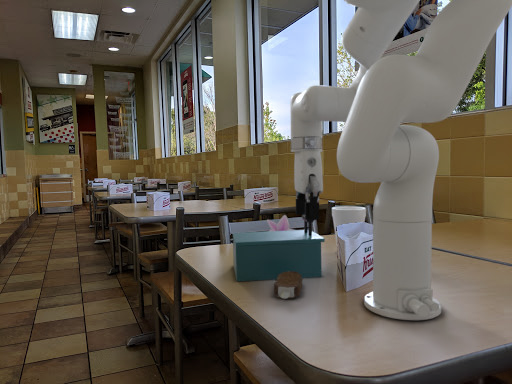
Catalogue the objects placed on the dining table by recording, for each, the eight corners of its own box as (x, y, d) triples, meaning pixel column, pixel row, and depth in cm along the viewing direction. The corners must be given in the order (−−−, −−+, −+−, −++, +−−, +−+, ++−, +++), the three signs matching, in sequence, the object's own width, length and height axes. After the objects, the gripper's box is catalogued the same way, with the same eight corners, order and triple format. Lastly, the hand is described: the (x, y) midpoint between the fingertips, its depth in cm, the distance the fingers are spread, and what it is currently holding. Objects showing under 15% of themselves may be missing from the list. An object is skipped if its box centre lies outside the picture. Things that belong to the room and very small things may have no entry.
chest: (307, 262, 98) (307, 232, 98) (321, 276, 86) (321, 242, 85) (233, 266, 96) (232, 236, 96) (236, 281, 84) (235, 246, 83)
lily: (256, 255, 112) (266, 229, 108) (257, 234, 123) (266, 209, 118) (294, 266, 113) (306, 241, 109) (292, 244, 124) (302, 220, 120)
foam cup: (326, 251, 112) (326, 207, 111) (353, 248, 114) (353, 205, 114) (343, 258, 103) (343, 210, 102) (372, 255, 105) (372, 208, 105)
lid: (310, 232, 98) (309, 211, 98) (324, 242, 85) (324, 217, 85) (232, 235, 96) (232, 213, 95) (235, 246, 83) (235, 220, 83)
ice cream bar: (304, 282, 82) (303, 269, 82) (298, 307, 67) (298, 292, 67) (279, 281, 83) (279, 269, 83) (269, 306, 68) (268, 291, 68)
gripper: (333, 143, 82) (333, 221, 83) (312, 147, 99) (312, 211, 100) (299, 144, 81) (299, 223, 82) (284, 147, 98) (284, 212, 100)
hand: (306, 216), depth 91 cm, fingers open, 9 cm apart
